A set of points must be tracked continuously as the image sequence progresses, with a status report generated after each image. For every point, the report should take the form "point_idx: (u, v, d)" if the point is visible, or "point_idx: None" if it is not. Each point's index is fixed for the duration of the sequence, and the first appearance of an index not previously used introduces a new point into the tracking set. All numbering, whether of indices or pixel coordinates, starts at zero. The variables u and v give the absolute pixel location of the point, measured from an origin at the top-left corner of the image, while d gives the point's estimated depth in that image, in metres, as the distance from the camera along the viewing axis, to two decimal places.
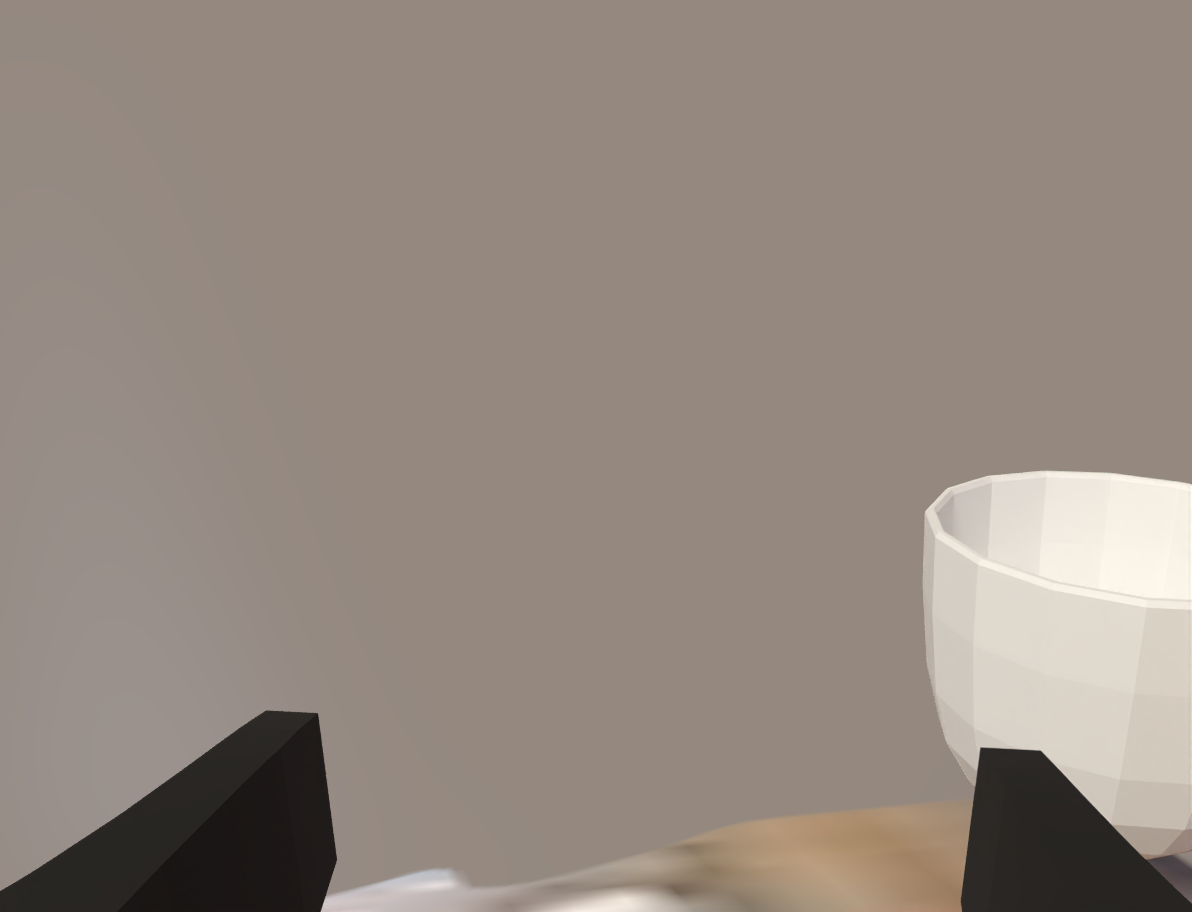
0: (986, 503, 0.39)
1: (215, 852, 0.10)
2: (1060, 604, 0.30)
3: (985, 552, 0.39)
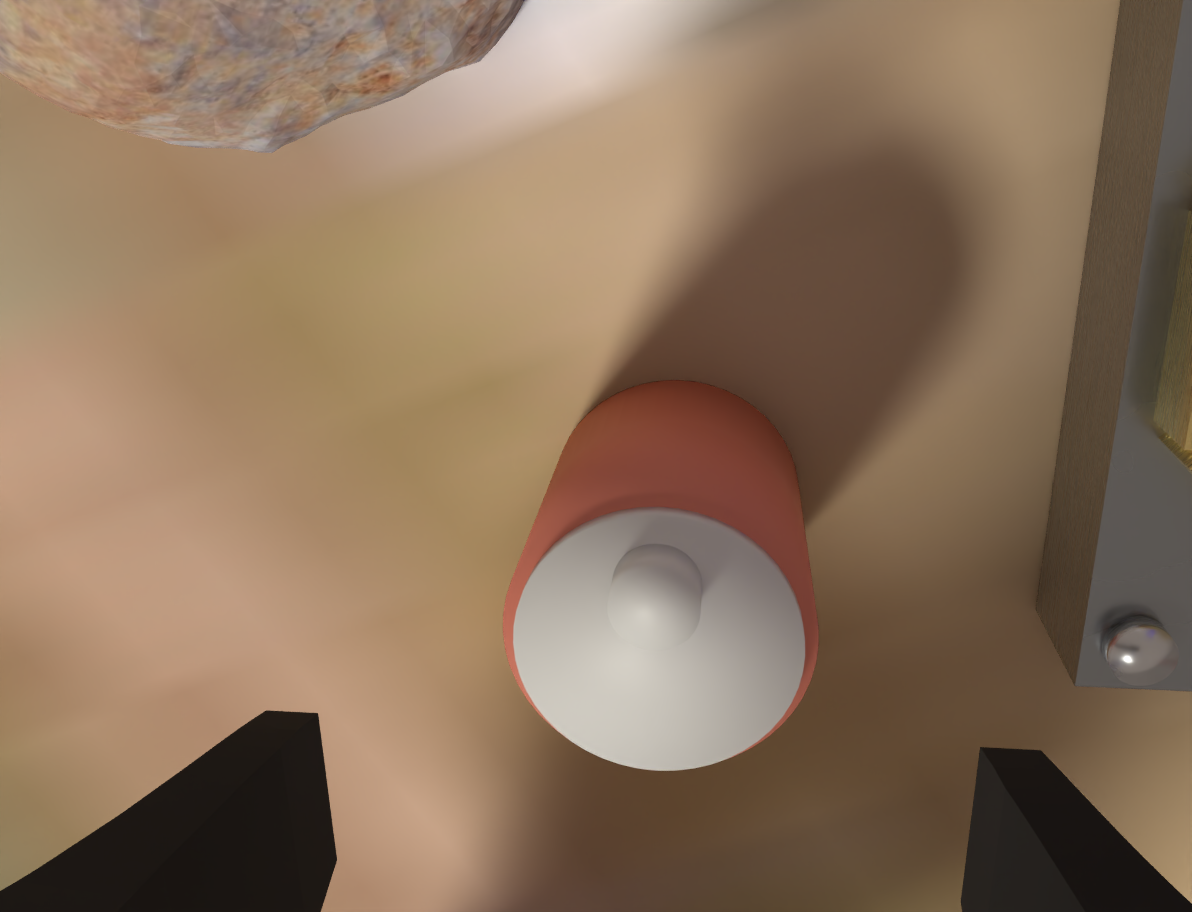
0: None
1: (215, 852, 0.10)
2: None
3: None
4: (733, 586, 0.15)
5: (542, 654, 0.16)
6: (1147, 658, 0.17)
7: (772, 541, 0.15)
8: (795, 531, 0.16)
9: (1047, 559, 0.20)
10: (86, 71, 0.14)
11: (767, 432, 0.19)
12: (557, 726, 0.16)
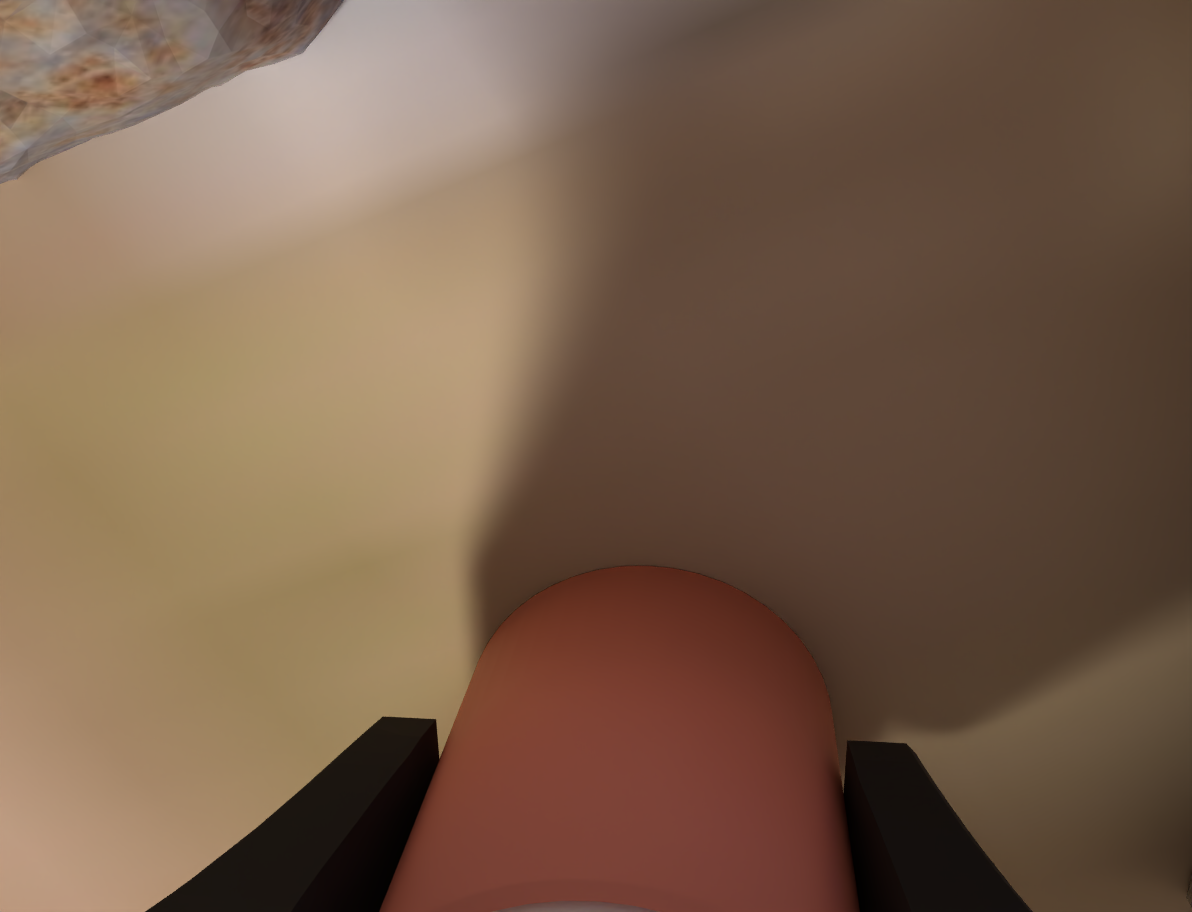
0: None
1: (358, 862, 0.10)
2: None
3: None
4: None
5: None
6: None
7: None
8: (840, 888, 0.09)
9: None
10: None
11: (787, 657, 0.12)
12: None
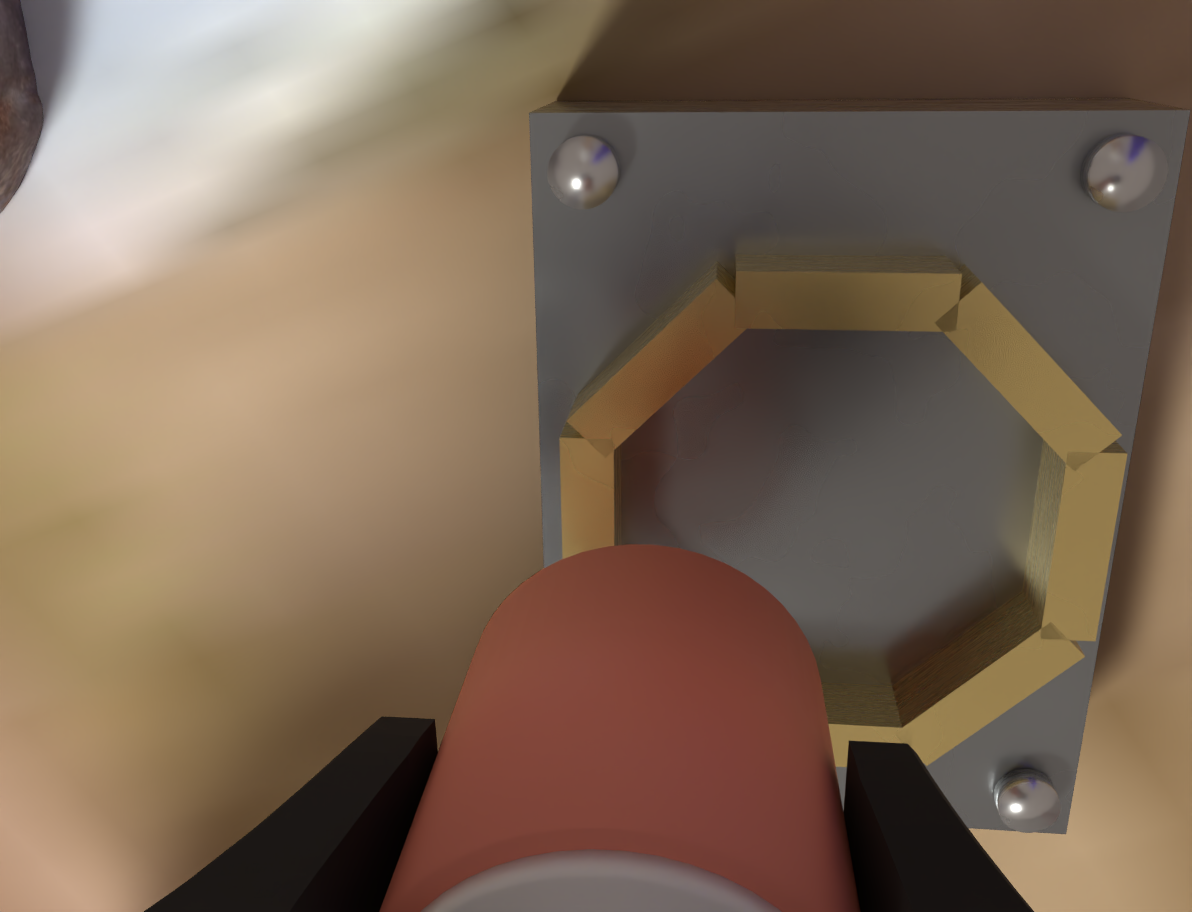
0: None
1: (356, 862, 0.10)
2: None
3: None
4: None
5: None
6: None
7: None
8: (841, 852, 0.10)
9: None
10: None
11: (787, 637, 0.13)
12: None
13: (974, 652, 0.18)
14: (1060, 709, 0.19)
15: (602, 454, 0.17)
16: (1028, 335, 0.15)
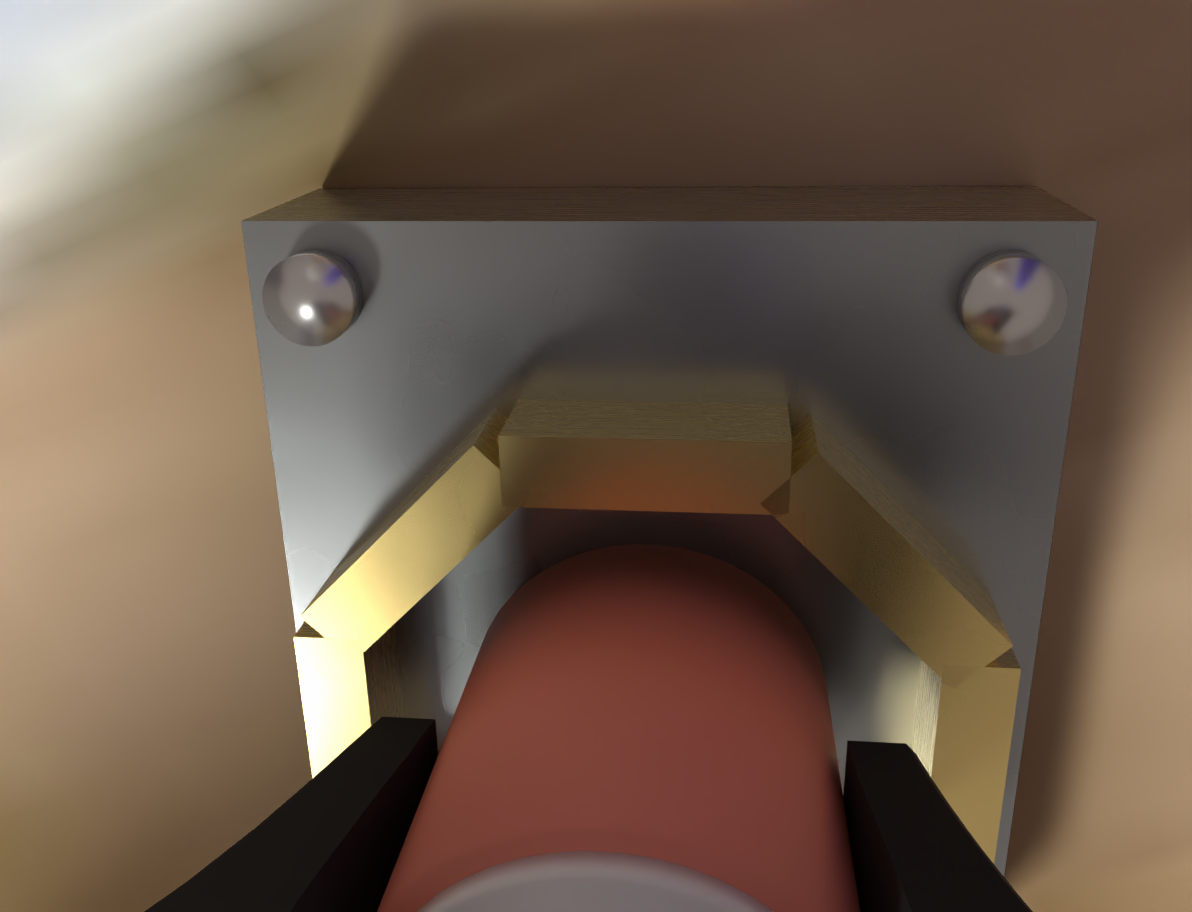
0: None
1: (357, 862, 0.10)
2: None
3: None
4: None
5: None
6: None
7: None
8: (842, 856, 0.10)
9: None
10: None
11: (791, 639, 0.13)
12: None
13: None
14: None
15: (348, 657, 0.13)
16: (884, 520, 0.11)
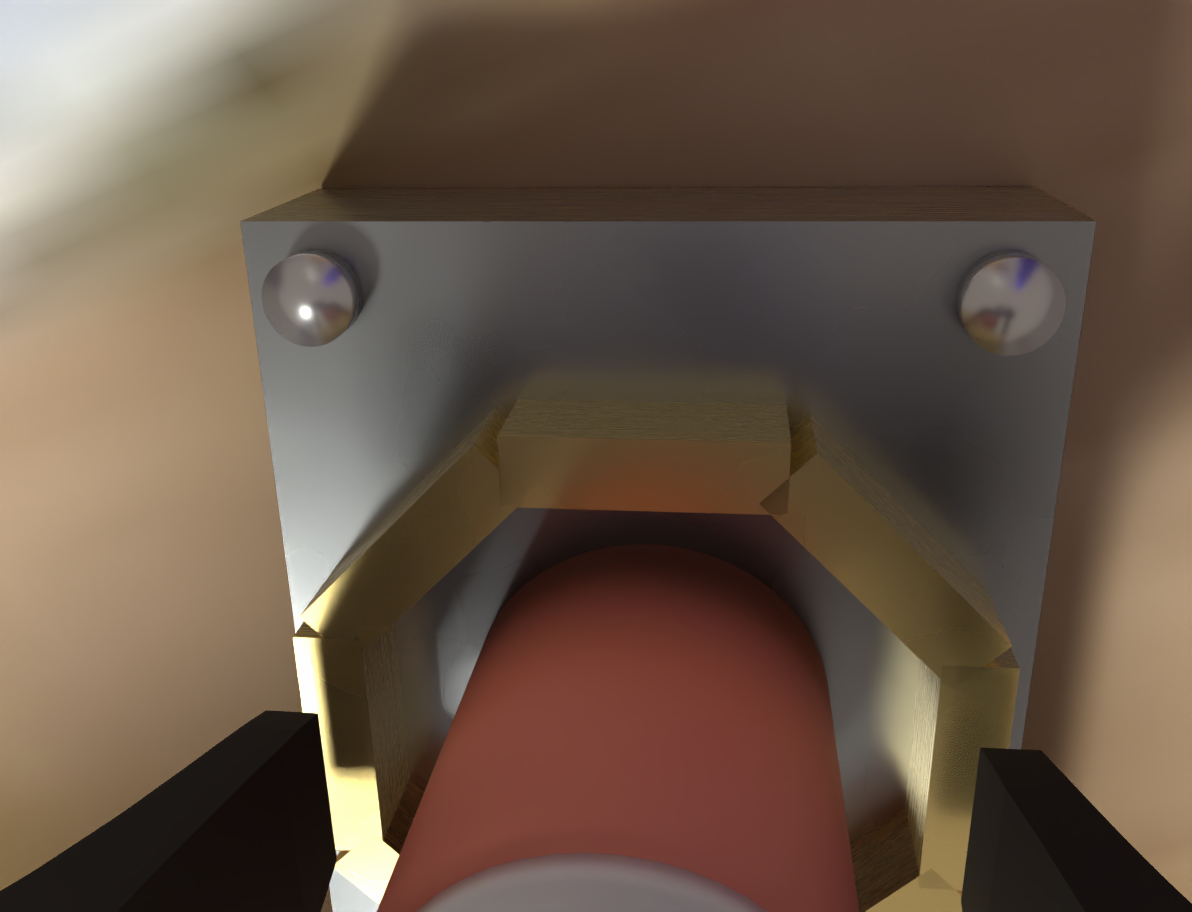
0: None
1: (215, 852, 0.10)
2: None
3: None
4: None
5: None
6: None
7: None
8: (841, 858, 0.10)
9: None
10: None
11: (792, 639, 0.13)
12: None
13: None
14: None
15: (348, 657, 0.13)
16: (883, 520, 0.11)
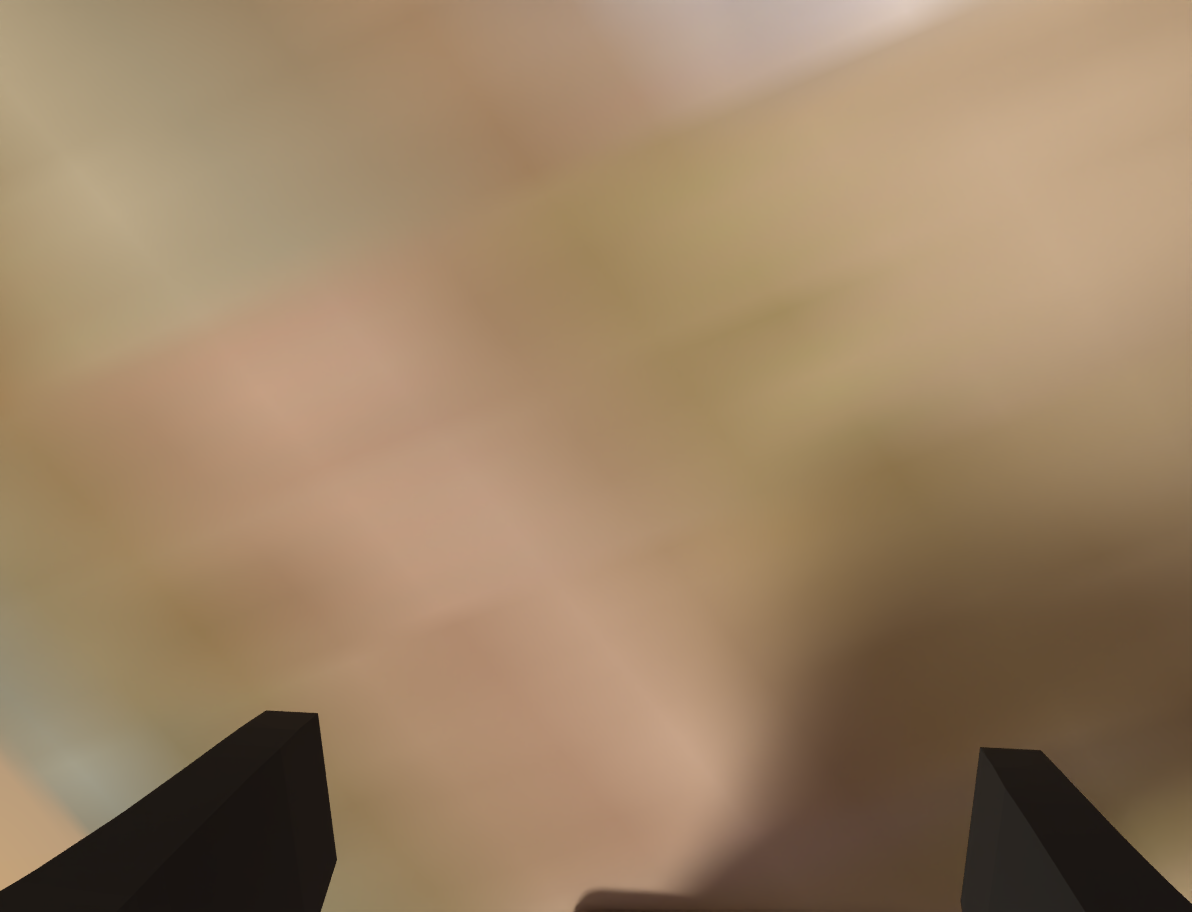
0: None
1: (215, 852, 0.10)
2: None
3: None
4: None
5: None
6: None
7: None
8: None
9: None
10: None
11: None
12: None
13: None
14: None
15: None
16: None
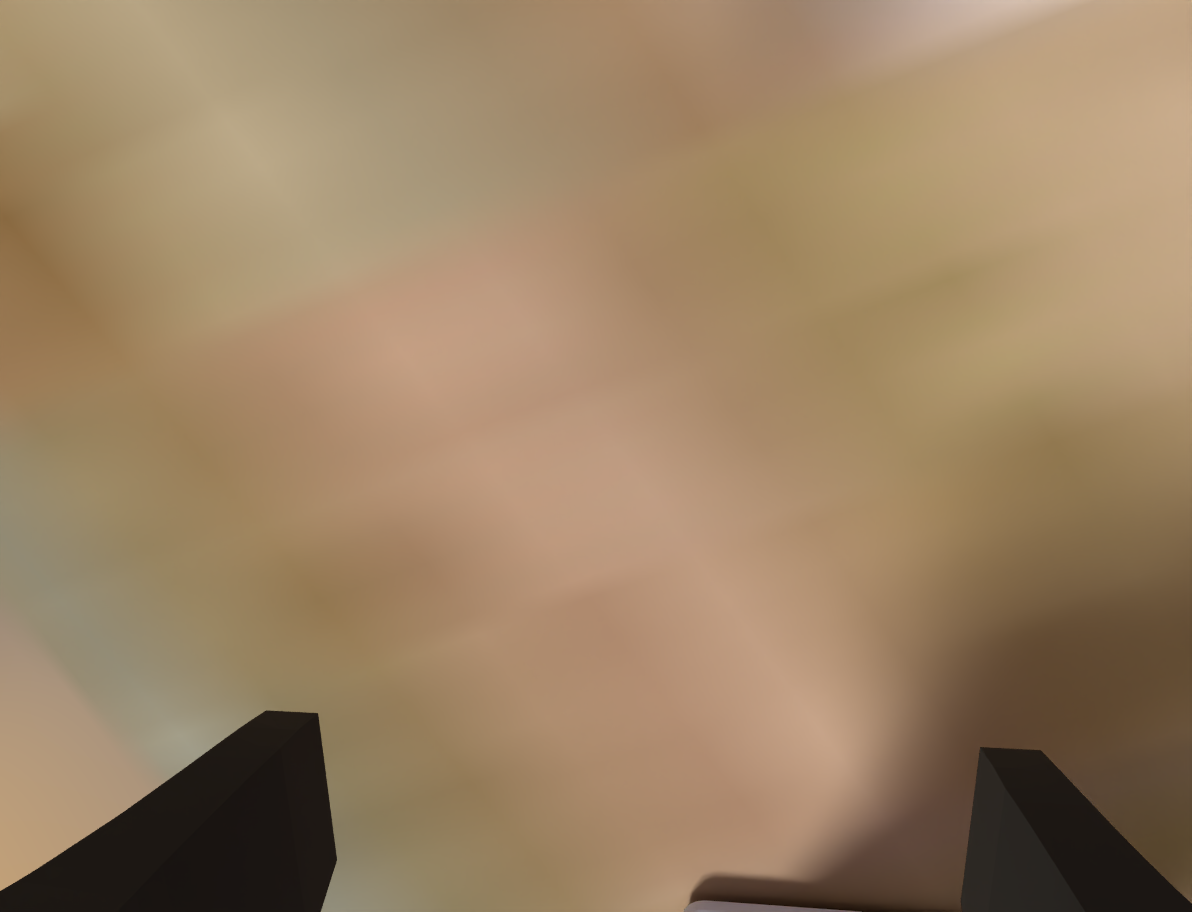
0: None
1: (215, 852, 0.10)
2: None
3: None
4: None
5: None
6: None
7: None
8: None
9: None
10: None
11: None
12: None
13: None
14: None
15: None
16: None
